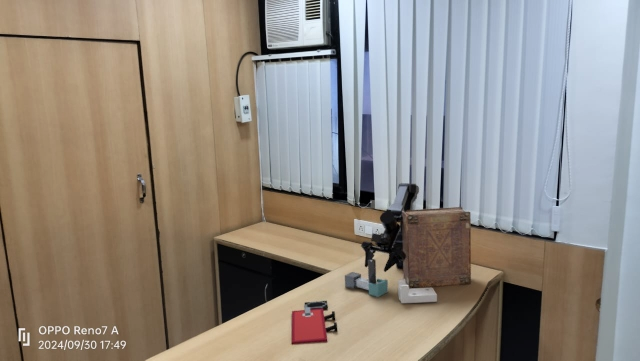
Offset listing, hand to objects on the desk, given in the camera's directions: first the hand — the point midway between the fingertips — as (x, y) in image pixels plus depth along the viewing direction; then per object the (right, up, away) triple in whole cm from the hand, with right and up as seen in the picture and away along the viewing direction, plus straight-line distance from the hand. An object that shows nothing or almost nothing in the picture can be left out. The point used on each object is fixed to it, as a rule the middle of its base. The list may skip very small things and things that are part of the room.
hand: (374, 269), depth 187 cm
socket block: (+1, -9, -2) cm, 9 cm away
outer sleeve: (-8, -8, +6) cm, 13 cm away
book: (+26, -7, +7) cm, 28 cm away
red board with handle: (-24, -14, -23) cm, 36 cm away
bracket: (+15, -10, -10) cm, 21 cm away
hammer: (-3, -8, +1) cm, 8 cm away
